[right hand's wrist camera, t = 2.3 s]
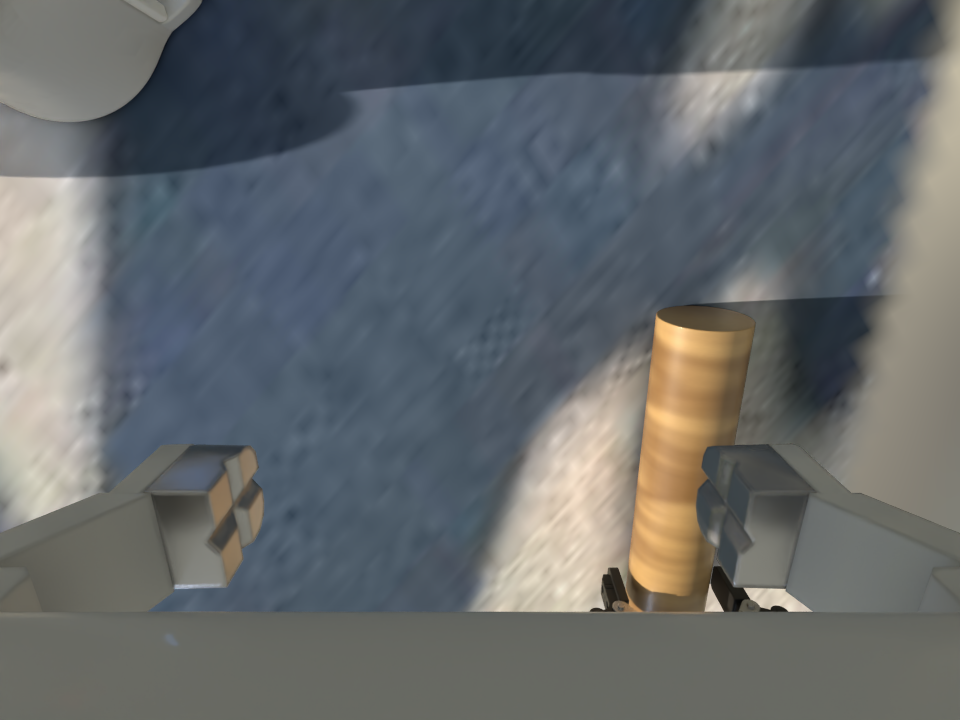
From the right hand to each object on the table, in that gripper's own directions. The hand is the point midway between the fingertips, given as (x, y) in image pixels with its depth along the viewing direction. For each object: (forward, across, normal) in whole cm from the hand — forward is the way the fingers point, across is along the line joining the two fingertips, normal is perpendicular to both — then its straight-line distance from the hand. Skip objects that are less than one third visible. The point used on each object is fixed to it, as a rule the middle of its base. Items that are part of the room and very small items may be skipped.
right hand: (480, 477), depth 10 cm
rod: (+29, +15, -17) cm, 36 cm away
